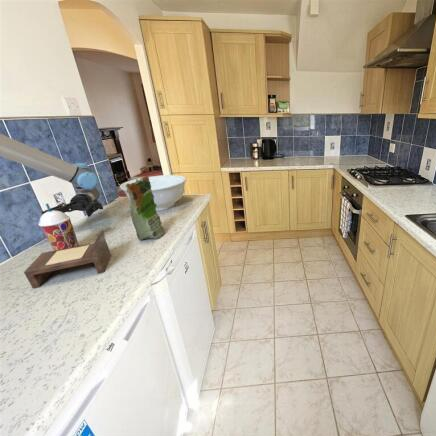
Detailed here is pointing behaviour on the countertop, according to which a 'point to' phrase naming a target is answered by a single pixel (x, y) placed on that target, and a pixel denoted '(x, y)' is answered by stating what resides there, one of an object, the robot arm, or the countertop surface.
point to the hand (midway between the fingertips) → (66, 216)
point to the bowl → (163, 190)
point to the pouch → (144, 210)
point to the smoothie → (58, 229)
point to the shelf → (68, 260)
